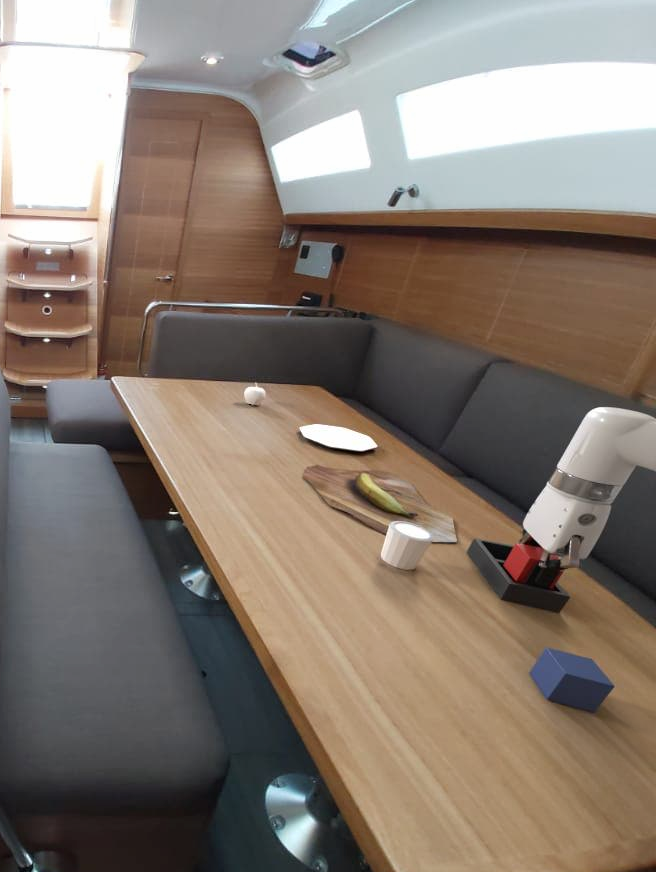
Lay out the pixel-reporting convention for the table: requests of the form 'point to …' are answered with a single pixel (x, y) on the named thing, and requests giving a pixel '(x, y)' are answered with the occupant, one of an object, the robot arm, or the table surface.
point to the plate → (338, 437)
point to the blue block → (571, 680)
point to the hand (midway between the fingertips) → (528, 575)
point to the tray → (491, 566)
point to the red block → (525, 562)
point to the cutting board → (379, 500)
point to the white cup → (405, 544)
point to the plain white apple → (254, 395)
